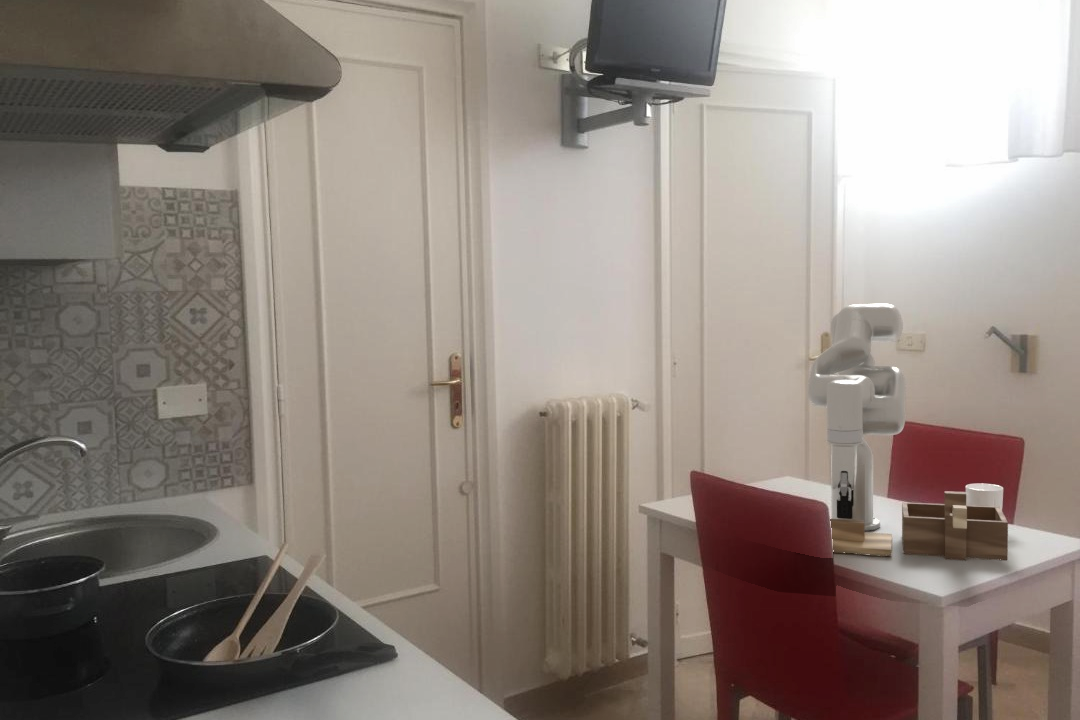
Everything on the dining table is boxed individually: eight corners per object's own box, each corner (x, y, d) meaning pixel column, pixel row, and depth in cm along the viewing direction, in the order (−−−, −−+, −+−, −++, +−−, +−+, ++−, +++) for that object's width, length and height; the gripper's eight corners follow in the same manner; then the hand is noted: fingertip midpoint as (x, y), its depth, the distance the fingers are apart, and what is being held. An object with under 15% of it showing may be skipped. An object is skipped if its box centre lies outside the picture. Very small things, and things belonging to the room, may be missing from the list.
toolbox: (902, 536, 212) (902, 476, 211) (999, 542, 205) (999, 479, 204) (903, 556, 197) (903, 491, 196) (1008, 563, 190) (1009, 496, 189)
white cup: (1010, 531, 214) (1011, 488, 213) (984, 535, 211) (984, 492, 210) (983, 523, 221) (984, 482, 220) (957, 527, 218) (957, 485, 218)
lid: (803, 537, 216) (803, 511, 215) (892, 543, 209) (892, 516, 208) (797, 553, 203) (797, 525, 203) (891, 560, 196) (891, 531, 196)
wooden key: (950, 516, 191) (950, 497, 191) (962, 517, 191) (962, 498, 190) (953, 527, 183) (953, 507, 182) (966, 528, 182) (966, 508, 182)
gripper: (828, 428, 213) (829, 501, 215) (824, 443, 197) (825, 522, 199) (863, 429, 211) (863, 502, 213) (862, 444, 195) (862, 524, 197)
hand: (845, 512), depth 206 cm, fingers open, 9 cm apart
